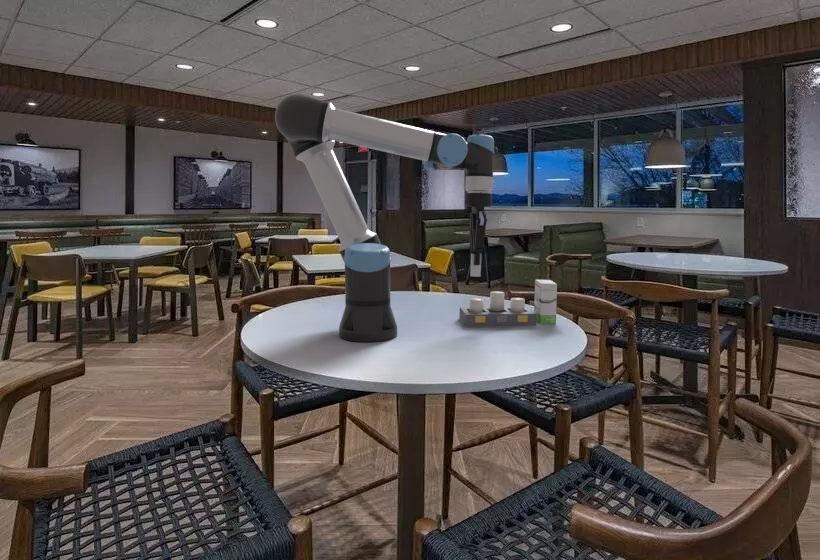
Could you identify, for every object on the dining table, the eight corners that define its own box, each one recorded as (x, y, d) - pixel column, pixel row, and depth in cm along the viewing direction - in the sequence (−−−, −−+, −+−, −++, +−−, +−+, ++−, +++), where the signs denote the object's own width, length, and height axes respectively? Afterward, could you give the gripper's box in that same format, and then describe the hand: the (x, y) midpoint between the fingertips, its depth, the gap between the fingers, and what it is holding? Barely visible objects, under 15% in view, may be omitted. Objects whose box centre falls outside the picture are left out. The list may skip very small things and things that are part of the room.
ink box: (556, 324, 148) (558, 283, 147) (539, 324, 148) (540, 283, 147) (549, 317, 157) (551, 279, 155) (533, 317, 157) (534, 279, 155)
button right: (512, 317, 149) (512, 300, 148) (508, 314, 153) (509, 297, 152) (525, 317, 149) (526, 300, 148) (521, 314, 153) (522, 297, 152)
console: (466, 327, 144) (466, 314, 144) (459, 318, 155) (459, 307, 155) (536, 326, 146) (537, 313, 145) (525, 317, 157) (525, 306, 156)
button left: (470, 318, 148) (471, 300, 147) (468, 315, 152) (468, 298, 151) (484, 317, 148) (484, 300, 147) (481, 315, 152) (482, 298, 151)
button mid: (491, 311, 148) (492, 293, 147) (488, 308, 152) (488, 291, 151) (505, 310, 148) (505, 293, 147) (502, 308, 152) (502, 291, 151)
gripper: (497, 192, 139) (493, 279, 142) (487, 193, 152) (483, 273, 155) (469, 191, 138) (466, 279, 142) (461, 192, 151) (458, 273, 154)
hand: (475, 276), depth 148 cm, fingers closed
